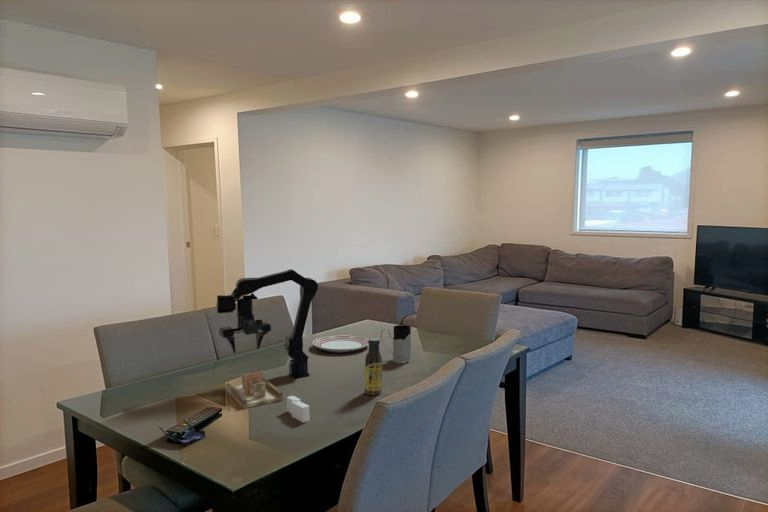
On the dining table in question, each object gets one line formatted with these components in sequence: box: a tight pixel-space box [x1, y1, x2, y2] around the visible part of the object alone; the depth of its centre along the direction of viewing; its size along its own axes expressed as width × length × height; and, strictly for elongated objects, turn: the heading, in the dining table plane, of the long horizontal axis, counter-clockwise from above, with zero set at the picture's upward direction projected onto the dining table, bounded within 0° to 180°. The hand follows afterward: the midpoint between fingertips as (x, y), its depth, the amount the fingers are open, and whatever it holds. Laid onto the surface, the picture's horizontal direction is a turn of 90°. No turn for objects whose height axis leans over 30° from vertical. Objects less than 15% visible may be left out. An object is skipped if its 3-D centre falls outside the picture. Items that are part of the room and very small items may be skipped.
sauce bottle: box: [363, 337, 383, 396], centre depth 191 cm, size 7×6×20 cm
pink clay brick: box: [243, 370, 264, 395], centre depth 189 cm, size 6×2×7 cm, turn 123°
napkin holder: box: [286, 395, 311, 424], centre depth 172 cm, size 15×11×6 cm
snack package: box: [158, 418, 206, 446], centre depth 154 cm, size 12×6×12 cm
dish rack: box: [225, 374, 284, 409], centre depth 189 cm, size 14×20×6 cm
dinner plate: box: [312, 334, 369, 353], centre depth 253 cm, size 28×27×3 cm
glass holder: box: [380, 324, 413, 362], centre depth 231 cm, size 9×14×15 cm, turn 71°
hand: (246, 351), depth 204 cm, fingers open, 9 cm apart
